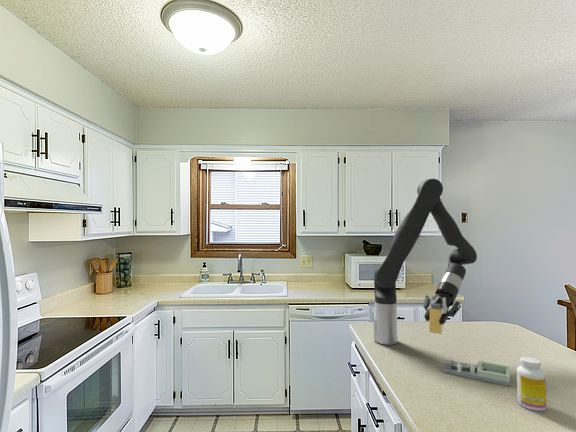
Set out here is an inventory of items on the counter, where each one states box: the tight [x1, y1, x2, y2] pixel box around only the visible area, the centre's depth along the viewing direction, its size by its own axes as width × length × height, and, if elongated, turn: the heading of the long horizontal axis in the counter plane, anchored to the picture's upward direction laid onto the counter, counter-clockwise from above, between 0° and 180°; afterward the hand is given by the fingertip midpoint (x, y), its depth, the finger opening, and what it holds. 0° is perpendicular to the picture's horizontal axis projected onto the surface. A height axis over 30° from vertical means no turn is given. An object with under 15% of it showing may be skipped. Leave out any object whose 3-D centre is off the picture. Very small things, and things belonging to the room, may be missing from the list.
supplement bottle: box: [516, 356, 548, 412], centre depth 94 cm, size 7×7×13 cm
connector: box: [428, 303, 443, 335], centre depth 128 cm, size 4×4×10 cm
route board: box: [443, 359, 511, 387], centre depth 114 cm, size 19×9×3 cm, turn 57°
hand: (433, 321), depth 127 cm, fingers closed on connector, 5 cm apart
